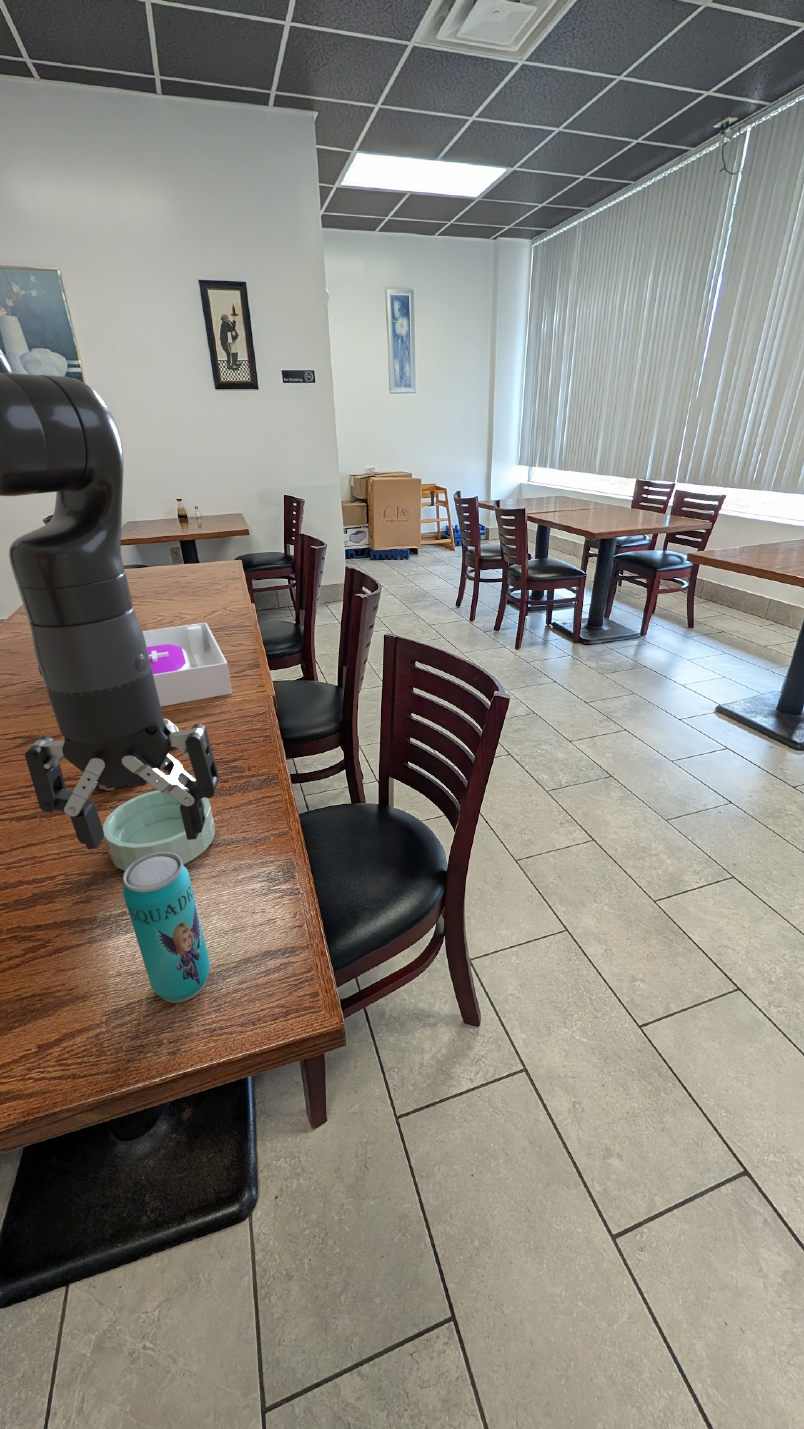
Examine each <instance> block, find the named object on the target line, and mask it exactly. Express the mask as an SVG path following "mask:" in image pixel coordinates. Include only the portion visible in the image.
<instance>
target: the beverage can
mask: <svg viewBox="0 0 804 1429" xmlns="http://www.w3.org/2000/svg"><path fill="white" fill-rule="evenodd" d="M122 882H123V888H122V894H123V899H124V901H125V905H126V908H127V911H128V914H129V918H130V921H131V925H132V928H133V931H134V934H135V938H136V940H137V944H138V947H139V950H140V955H141V957H142V961H143V964H144V967H145V970H146V971H145V972H146V974H147V978H148V981H149V983H150V986H151V988H152V990H153V992H155V994H156V995H158V996H159V997H160V998H161V999H163V1000H164V1001H165V1002H168V1003H171V1004H172V1003H174V1004H180V1003H184V1002H187V1001H190V1000H192V999H193V998H195V997H196V996H197V995H199V993H201V991H203V989H204V988H205V986H206V983H207V982H208V978H209V975H210V974H209V973H210V968H211V962H210V958H209V954H208V949H207V945H206V941H205V936H204V933H203V928H202V924H201V920H200V916H199V911H198V907H197V903H196V899H195V894H194V890H193V886H192V882H191V878H190V874H189V870H188V868H187V867H186V866H185V865H183V862H182V860H181V858H180V857H179V856H178V855H176V854H174V853H170V852H158V853H153V854H149V855H146V856H144V857H142V858H140V859H138V860H136V861H135V862H133V863H132V864H131V865H130V866H129V867H128V868H127V869H126V871H124V873H123V875H122Z"/></svg>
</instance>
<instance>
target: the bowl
mask: <svg viewBox="0 0 804 1429" xmlns="http://www.w3.org/2000/svg"><path fill="white" fill-rule="evenodd" d="M201 800H202V805H203V810H204V814H205V818H206V819H205V823H204V826H203V829H202V832H201V833H199V834H198V837H197V839H193V840H188V839H187V836H186V832H185V828H184V824H183V820H182V816H181V811H180V805H181V803H180V802H178V801H177V800H176V799H174V798H173V797H172V796H171V795H169V794H168V793H161V792H160V791H158V790H157V789H156V790H152V791H148V792H145V793H142V794H140V795H137V796H134V797H132V798H130V799H129V800H127V801H124V802H123V803H121V804H120V805H118V806H117V807H116V808H114V810H113V811H111V812H110V813H109V814H108V815H107V817H106V818H105V820H104V822H103V824H102V828H103V831H104V838H103V840H104V843H105V846H106V850H107V852H108V856H109V859H110V862H112V864H113V865H114V866H115V867H116V868H117V869H120V870H121V871H124V872H125V871H126V869H127V868H128V867H129V866H130V865H131V864H132V863H133V862H135V861H136V860H138V859H140V858H142V857H144V856H146V855H149V854H153V853H158V852H170V853H174V854H176V855H178V856H179V857H180V858H181V860H182V862H183V866H185V865H186V864H188V863H189V862H191V861H193V860H194V859H196V858H197V857H198V856H200V855H201V854H203V853H204V852H205V851H206V850H207V848H208V847H209V846H210V845H211V844H212V843H213V840H214V838H215V835H216V827H215V821H214V817H213V812H212V807H211V803H210V798H202V799H201Z"/></svg>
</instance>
